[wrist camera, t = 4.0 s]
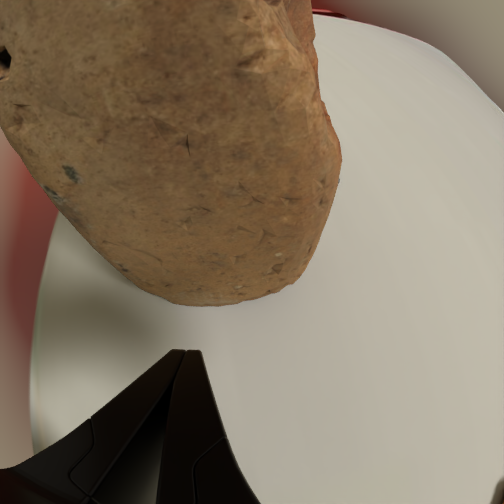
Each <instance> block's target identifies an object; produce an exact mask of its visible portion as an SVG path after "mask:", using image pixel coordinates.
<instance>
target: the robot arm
mask: <svg viewBox="0 0 504 504" xmlns="http://www.w3.org/2000/svg"><path fill="white" fill-rule="evenodd" d="M0 504H261V503H260V502H259V500H258V499H257V497H256V496H255V494H254V492H253V491H252V489H251V488H250V486H249V484H248V483H247V481H246V479H245V477H244V475H243V474H242V472H241V470H240V468H239V466H238V463H237V461H236V459H235V456H234V454H233V451H232V449H231V446H230V443H229V440H228V439H227V435H226V432H225V429H224V426H223V423H222V420H221V417H220V413H219V410H218V407H217V404H216V401H215V397H214V394H213V391H212V387H211V384H210V381H209V377H208V374H207V370H206V366H205V363H204V359H203V355H202V352H201V351H200V350H187V351H186V350H181V349H172V350H170V351H169V352H168V353H167V354H166V355H165V356H163V357H162V358H161V359H160V360H159V361H157V362H156V363H155V364H154V365H153V366H152V367H150V368H149V369H148V370H147V371H146V372H144V373H143V374H142V375H141V376H140V377H138V378H137V379H136V380H135V381H134V382H132V383H131V384H130V385H129V386H128V387H126V388H125V389H124V390H123V391H122V392H120V393H119V394H118V395H117V396H116V397H114V398H113V399H112V400H111V401H109V402H108V403H107V404H106V405H105V406H103V407H102V408H101V409H100V410H98V411H97V412H96V413H95V414H94V415H92V416H91V419H87V420H86V421H85V422H83V423H82V424H81V425H80V426H78V427H77V428H76V429H74V430H73V431H72V432H70V433H69V434H68V435H66V436H65V437H63V438H62V439H60V440H59V441H57V442H56V443H54V444H53V445H51V446H49V447H48V448H46V449H44V450H43V451H41V452H39V453H38V454H36V455H34V456H33V457H31V458H29V459H27V460H26V461H24V462H22V463H20V464H18V465H16V466H14V467H10V468H6V469H0Z"/></svg>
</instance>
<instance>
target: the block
mask: <svg viewBox="0 0 504 504" xmlns="http://www.w3.org/2000/svg"><path fill="white" fill-rule="evenodd" d="M314 38H315V29H314V24H313V16H312V7H311V0H0V126H1V129H2V130H3V132H4V134H5V136H6V138H7V140H8V141H9V143H10V145H11V146H12V147H13V148H14V150H15V151H16V152H17V153H18V154H19V156H20V157H21V159H22V161H23V162H24V164H25V165H26V167H27V169H28V170H29V172H30V173H31V175H32V177H33V178H34V179H35V180H36V181H37V183H38V184H39V185H40V186H41V187H42V188H43V189H44V191H45V193H46V194H47V195H48V197H49V198H50V199H51V200H52V202H53V203H54V205H55V206H56V207H57V208H58V209H59V211H60V212H61V213H62V214H63V215H64V216H65V217H66V218H67V219H68V220H69V221H70V222H71V224H72V225H73V226H74V227H75V228H76V230H77V231H78V232H79V233H80V234H81V235H82V236H83V237H84V238H85V239H86V240H87V241H88V242H89V243H90V245H91V246H92V247H93V248H94V249H95V250H97V251H98V252H99V253H100V254H101V255H102V256H103V257H104V258H105V259H106V260H107V261H108V262H109V263H111V264H112V265H113V266H114V267H115V268H116V269H117V270H119V271H120V272H121V273H122V274H123V275H124V276H125V277H126V278H127V279H129V280H131V281H132V282H133V283H134V284H135V285H136V286H138V287H139V288H141V289H142V290H144V291H147V292H149V293H152V294H155V295H158V296H161V297H163V298H165V299H167V300H168V301H170V302H172V303H174V304H179V305H186V306H201V307H203V306H224V305H231V304H238V303H240V302H242V301H246V300H254V299H258V298H261V297H263V296H266V295H269V294H271V293H277V292H279V291H280V290H281V289H283V288H284V287H285V286H287V285H289V284H293V283H294V282H295V281H296V280H297V279H298V278H299V277H300V276H301V275H302V273H303V272H304V271H305V269H306V267H307V265H308V263H309V261H310V259H311V258H312V256H313V254H314V252H315V249H316V247H317V245H318V242H319V240H320V236H321V233H322V231H323V228H324V226H325V224H326V221H327V218H328V216H329V213H330V209H331V206H332V203H333V200H334V196H335V193H336V190H337V186H338V180H339V174H340V169H341V163H342V155H341V148H340V142H339V139H338V137H337V135H336V132H335V130H334V128H333V126H332V124H331V120H330V116H329V115H328V113H327V110H326V107H325V104H324V102H323V101H322V100H321V96H320V89H319V80H318V73H317V72H318V58H317V54H316V51H315V48H314V45H313V40H314Z"/></svg>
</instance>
